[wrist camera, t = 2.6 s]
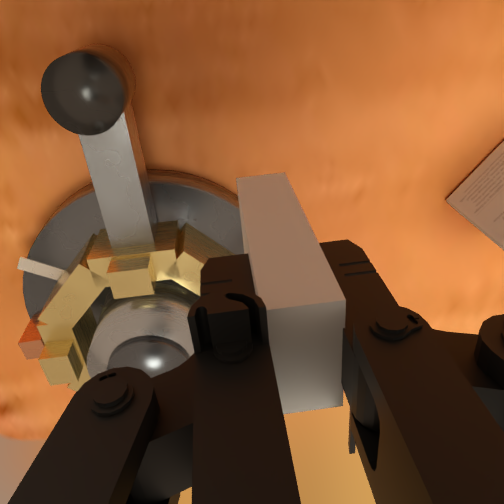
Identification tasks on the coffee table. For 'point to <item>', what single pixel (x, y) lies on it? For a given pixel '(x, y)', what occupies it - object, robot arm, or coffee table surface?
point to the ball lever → (109, 210)
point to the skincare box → (484, 197)
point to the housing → (139, 307)
